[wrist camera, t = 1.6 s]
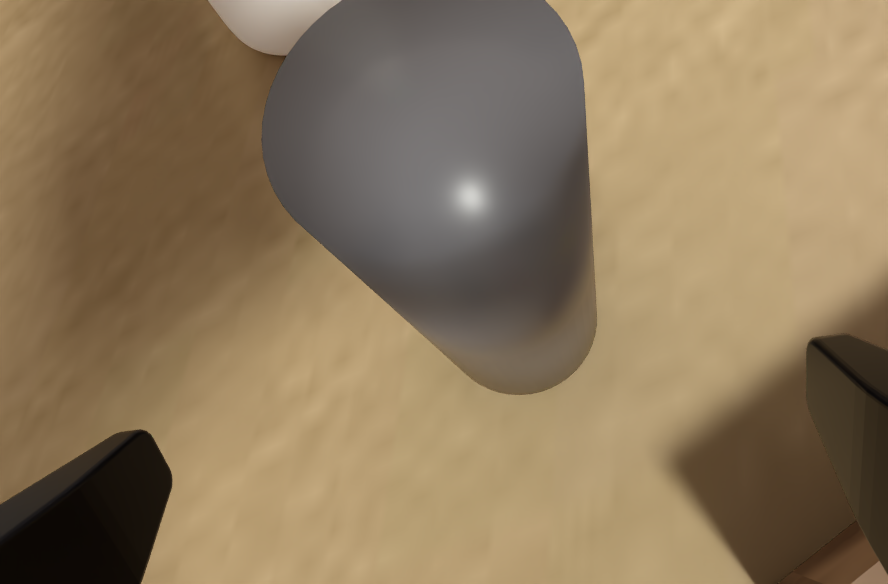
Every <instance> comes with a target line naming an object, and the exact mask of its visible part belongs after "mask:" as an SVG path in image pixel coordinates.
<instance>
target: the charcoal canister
mask: <svg viewBox="0 0 888 584" xmlns="http://www.w3.org/2000/svg"><path fill="white" fill-rule="evenodd" d="M262 150H263V159H264V163H265V167H266V171H267V175H268V177H269V180H270V182H271V185H272V187H273V190H274V192H275V194H276V195H277V197H278V198H279V200H280V202H281V203H282V205H283V207H284V208H285V209H286V210H287V211H288V213H289V214H290V215H291V216H292V217H293V219H294V220H295V221H296V222H297V223H298V224H300V225H301V226H302V227H303V228H304V229H305V230H306V231H307V232H308V233H310V234H311V235H312V236H313V237H314V238H315V239H316V240H317V241H318V242H320V243H321V244H322V245H323V246H324V247H325V248H326V249H327V250H329V251H330V252H331V253H332V254H333V255H334V256H335V257H336V258H337V259H339V260H340V261H341V262H342V263H343V264H344V265H345V266H346V267H347V268H349V269H350V270H351V271H352V272H353V273H354V274H355V275H356V276H357V277H359V278H360V279H361V280H362V281H363V282H364V283H365V284H366V285H367V286H369V287H370V288H371V289H372V290H373V291H374V292H375V293H376V294H378V295H379V296H380V297H381V298H382V299H383V300H384V301H385V302H386V303H388V304H389V305H390V306H391V307H392V308H393V309H394V310H395V311H396V312H398V313H399V314H400V315H401V316H402V317H403V318H404V319H405V320H406V321H408V322H409V323H410V324H411V325H412V326H413V327H414V328H415V329H416V330H418V331H419V332H420V333H421V334H422V335H423V336H424V337H425V338H426V339H428V340H429V341H430V342H431V343H432V344H433V345H434V346H435V347H437V348H438V349H439V350H440V351H441V352H442V353H443V354H444V355H445V356H447V357H448V358H449V359H450V360H451V361H452V362H453V363H454V364H455V365H457V366H458V367H459V368H460V369H461V370H462V371H463V372H464V373H465V374H467V375H468V376H469V377H470V378H471V379H472V380H474V381H475V382H477V383H478V384H480V385H482V386H484V387H486V388H488V389H490V390H493V391H496V392H499V393H505V394H512V395H524V394H533V393H537V392H541V391H544V390H547V389H550V388H552V387H554V386H556V385H558V384H559V383H561V382H562V381H564V380H565V379H567V378H568V377H569V376H570V375H571V374H573V373H574V372H575V371H576V370H577V369H578V367H579V366H580V365H581V364H582V363H583V361H584V359H585V358H586V356H587V355H588V353H589V351H590V348H591V346H592V344H593V341H594V337H595V333H596V326H597V308H596V290H595V272H594V254H593V236H592V218H591V200H590V182H589V164H588V146H587V128H586V110H585V92H584V79H583V71H582V64H581V60H580V57H579V53H578V50H577V47H576V44H575V42H574V40H573V38H572V36H571V34H570V32H569V30H568V28H567V26H566V25H565V24H564V22H563V21H562V19H561V18H560V16H559V15H558V14H557V12H556V11H555V10H554V9H553V8H552V7H551V6H550V5H549V4H548V3H547V2H546V1H545V0H342V1H340V2H339V3H337V4H336V5H335V6H333V7H332V8H330V9H329V10H328V11H327V12H325V13H324V14H323V15H322V16H321V17H320V18H319V19H317V20H316V21H315V22H314V23H313V24H312V25H311V26H310V27H309V28H308V30H307V31H306V32H305V33H304V34H303V35H302V36H301V37H300V38H299V40H298V41H297V42H296V44H295V45H294V46H293V48H292V49H291V50H290V52H289V53H288V55H287V56H286V58H285V60H284V62H283V63H282V65H281V67H280V68H279V70H278V72H277V75H276V77H275V79H274V81H273V84H272V86H271V89H270V92H269V95H268V98H267V101H266V105H265V111H264V116H263V122H262Z"/></svg>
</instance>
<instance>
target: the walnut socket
mask: <svg viewBox="0 0 888 584" xmlns="http://www.w3.org/2000/svg"><path fill="white" fill-rule="evenodd" d="M778 584H888V575H887V573H886V571H885V570H884V568H883V566H882V565H881V563H880V561H879V559H878V558H877V556H876V554H875V553H874V551H873V549H872V547H871V546H870V544H869V542H868V540H867V539H866V537H865V535H864V533H863V531H862V529H861V528H860V526H859V524H858V522H857V520H856V521H855V522H854V523H853V524H851V525H850V526H849V527H848V528H846V529H845V530H844V531H843V532H841V533H840V534H839V535H838V536H836V537H835V538H834V539H833V540H831V541H830V542H829V543H828V544H826V545H825V546H824V547H823V548H821V549H820V550H819V551H818V552H816V553H815V554H814V555H813V556H811V557H810V558H809V559H808V560H806V561H805V562H804V563H803V564H801V565H800V566H799V567H798V568H796V569H795V570H794V571H793V572H791V573H790V574H789V575H788V576H786V577H785V578H784V579H783V580H781V581H780V582H779V583H778Z"/></svg>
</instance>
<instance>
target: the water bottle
mask: <svg viewBox="0 0 888 584" xmlns="http://www.w3.org/2000/svg"><path fill="white" fill-rule="evenodd" d="M208 1H209V3H210V4H211V6H212V7H213V8H214V10H215V11H216V12H217V14H218V15H219V16H220V18H221V19H222V20H223V22H224V23H225V24H226V25H227V27H228V28H229V29H230V30H231V31H232V32H233V33H234V35H235V36H236V37H237V38H238V39H239V40H241V41H242V42H243V43H244V44H246V45H248V46H249V47H251V48H253V49H255V50H257V51H260V52H263V53H266V54H272V55H283V56H284V55H288V53H289V52H290V50H291V49H292V48H293V46H294V45H295V44H296V42H297V41H298V40H299V38H300V37H301V36H302V35H303V34H304V33H305V32H306V31H307V30H308V28H309V27H310V26H311V25H312V24H313V23H314V22H315V21H316V20H317V19H319V18H320V17H321V16H322V15H323V14H324V13H325V12H327V11H328V10H329V9H330V8H332V7H333V6H335V5H336V4H337V3H339V2H340V1H342V0H208Z"/></svg>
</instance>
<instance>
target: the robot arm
mask: <svg viewBox="0 0 888 584" xmlns="http://www.w3.org/2000/svg"><path fill="white" fill-rule="evenodd" d="M806 399H807V404H808V408H809V411H810V414H811V417H812V419H813V421H814V423H815V426H816V428H817V430H818V433H819V435H820V437H821V440H822V442H823V444H824V447H825V449H826V451H827V454H828V456H829V458H830V460H831V463H832V465H833V467H834V470H835V472H836V474H837V477H838V479H839V481H840V484H841V486H842V488H843V491H844V493H845V495H846V498H847V500H848V502H849V504H850V507H851V509H852V511H853V513H854V515H855V518H856V520H857V522H858V524H859V526H860V528H861V529H862V531H863V533H864V535H865V537H866V539H867V540H868V542H869V544H870V546H871V547H872V549H873V551H874V553H875V554H876V556H877V558H878V559H879V561H880V563H881V565H882V566H883V568H884V570H885V571H886V573H887V575H888V350H887V349H884V348H882V347H879V346H877V345H875V344H872V343H870V342H867V341H865V340H862V339H860V338H857V337H855V336H852V335H850V334H835V335H828V336H821V337H815V338H812V339H811V340H810V341H809V342H808V345H807V350H806ZM171 488H172V474H171V470H170V468H169V466H168V464H167V463H166V461H165V459H164V457H163V455H162V453H161V452H160V450H159V448H158V446H157V444H156V442H155V440H154V439H153V437H152V435H151V434H150V433H148V432H147V431H145V430H141V429H140V430H132V431H125V432H119V433H116V434H114V435H112V436H111V437H109V438H108V439H106V440H104V441H103V442H101V443H99V444H98V445H96V446H95V447H93V448H91V449H90V450H88V451H86V452H85V453H83V454H82V455H80V456H78V457H77V458H75V459H73V460H72V461H70V462H69V463H67V464H65V465H64V466H62V467H60V468H59V469H57V470H56V471H54V472H52V473H51V474H49V475H47V476H46V477H44V478H43V479H41V480H39V481H38V482H36V483H34V484H33V485H31V486H30V487H28V488H26V489H25V490H23V491H21V492H20V493H18V494H17V495H15V496H13V497H12V498H10V499H8V500H7V501H5V502H4V503H2V504H0V584H141V582H142V579H143V576H144V573H145V570H146V567H147V564H148V561H149V558H150V555H151V552H152V549H153V545H154V542H155V539H156V536H157V533H158V530H159V526H160V523H161V520H162V517H163V514H164V511H165V508H166V504H167V501H168V498H169V495H170V492H171Z"/></svg>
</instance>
